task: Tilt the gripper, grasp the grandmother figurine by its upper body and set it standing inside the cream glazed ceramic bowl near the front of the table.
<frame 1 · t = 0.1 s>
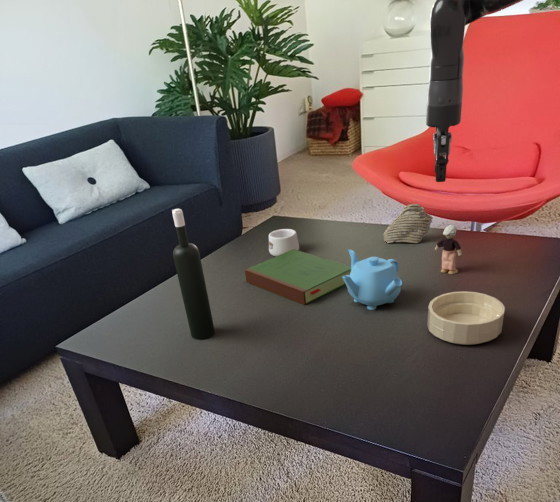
hand: (439, 177, 125), 26 cm above the table, tool pointing down, fingers open, 8 cm apart
teapot: (371, 302, 131), on the table
wine bottle: (203, 334, 126), on the table
bowl: (463, 329, 115), on the table
hardcover book: (300, 282, 146), on the table
mug: (282, 251, 167), on the table
fossil tooth: (407, 241, 163), on the table
grandmother figurine: (447, 272, 142), on the table
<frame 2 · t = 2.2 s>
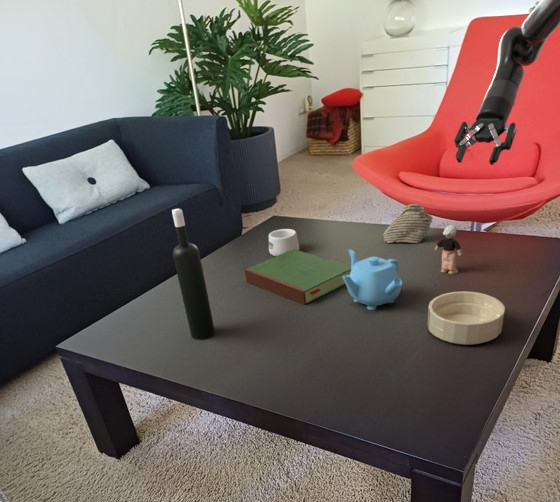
hand: (474, 162, 134), 26 cm above the table, tool tilted 45°, fingers open, 8 cm apart
nothing on the table moved.
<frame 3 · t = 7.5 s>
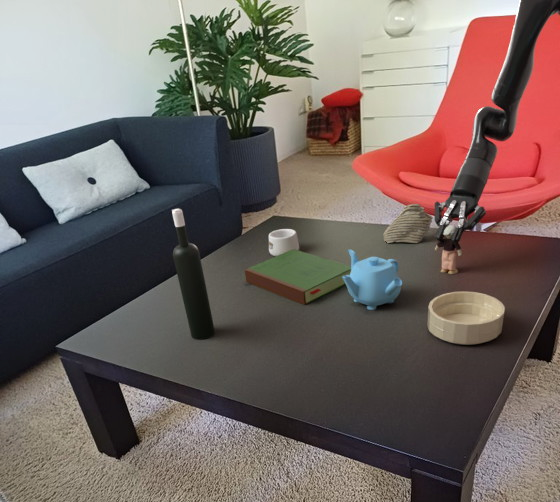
hand: (446, 241, 135), 9 cm above the table, tool tilted 45°, fingers closed on grandmother figurine, 3 cm apart
grandmother figurine: (447, 271, 142), on the table, touching gripper
everything else where it was.
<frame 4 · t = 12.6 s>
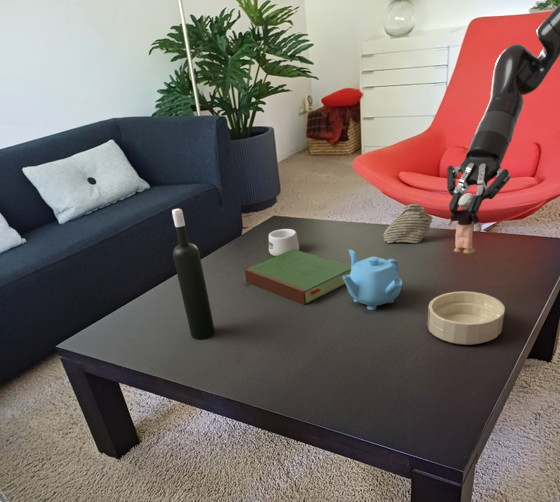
hand: (461, 213, 112), 23 cm above the table, tool tilted 45°, fingers closed on grandmother figurine, 3 cm apart
grandmother figurine: (461, 251, 118), point 13 cm above the table, touching gripper
everything else where it was.
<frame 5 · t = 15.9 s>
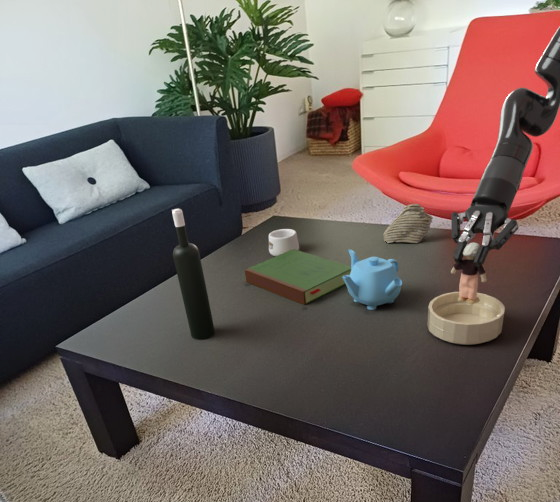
hand: (466, 263, 106), 16 cm above the table, tool tilted 45°, fingers closed on grandmother figurine, 3 cm apart
grandmother figurine: (465, 300, 112), point 7 cm above the table, touching gripper
everything else where it was.
when the fingers open (10 cm above the table, at t = 18.0 s): grandmother figurine stays where it is, resting on bowl.
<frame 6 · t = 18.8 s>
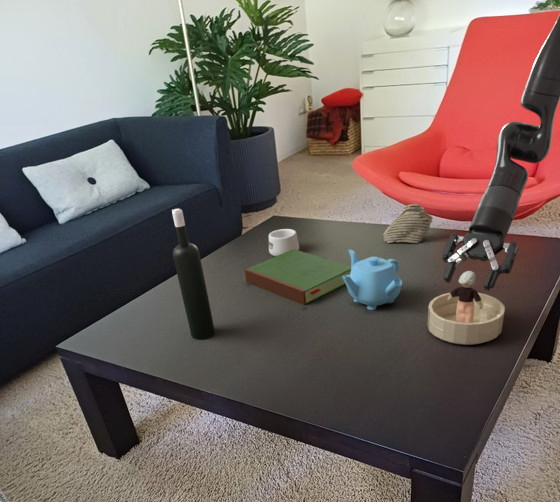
hand: (466, 285, 109), 11 cm above the table, tool tilted 45°, fingers open, 8 cm apart
grandmother figurine: (462, 326, 115), point 1 cm above the table, touching bowl
everything else where it was.
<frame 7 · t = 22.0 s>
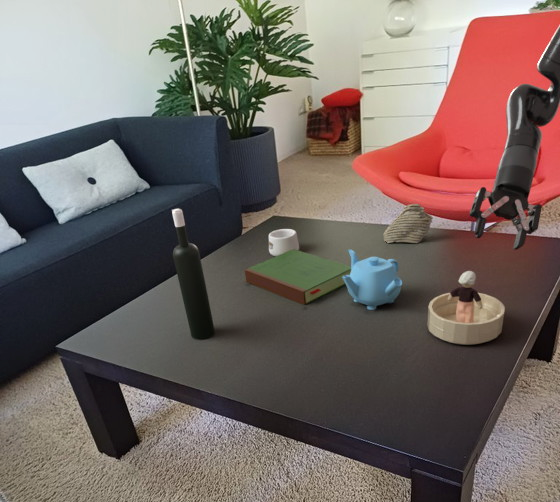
hand: (497, 242, 112), 17 cm above the table, tool tilted 45°, fingers open, 8 cm apart
nothing on the table moved.
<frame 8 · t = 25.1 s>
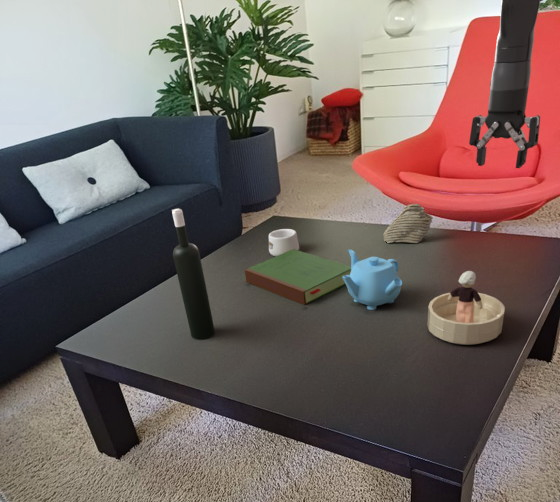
hand: (499, 166, 119), 28 cm above the table, tool pointing down, fingers open, 8 cm apart
nothing on the table moved.
at the end: grandmother figurine inside the target area in the bowl (0.4 cm from its centre), point 0.6 cm above the bowl's base; the gripper is holding nothing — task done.
